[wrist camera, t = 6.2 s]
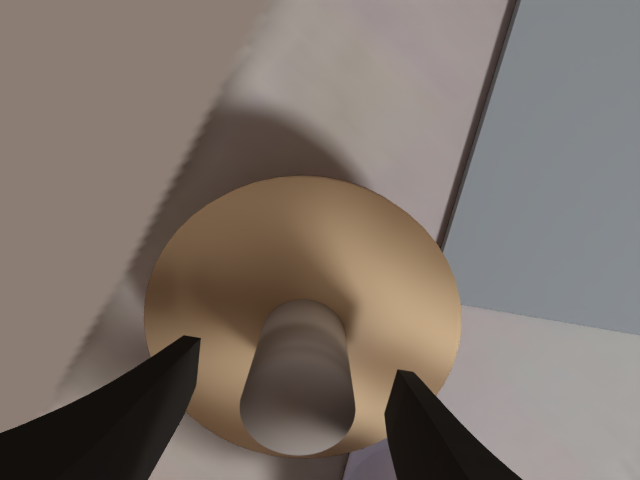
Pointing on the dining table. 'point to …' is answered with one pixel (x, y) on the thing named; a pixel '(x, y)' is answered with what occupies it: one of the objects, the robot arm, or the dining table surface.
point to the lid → (304, 313)
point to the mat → (556, 171)
